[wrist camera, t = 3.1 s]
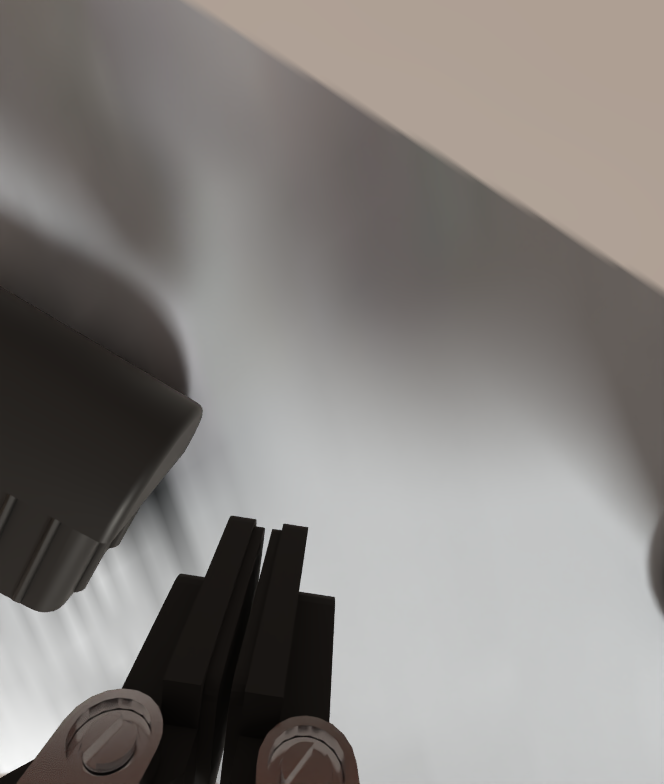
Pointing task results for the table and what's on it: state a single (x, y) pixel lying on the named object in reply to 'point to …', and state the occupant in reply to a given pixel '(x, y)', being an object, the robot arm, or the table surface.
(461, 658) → the table surface
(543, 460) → the table surface
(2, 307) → the end cap
